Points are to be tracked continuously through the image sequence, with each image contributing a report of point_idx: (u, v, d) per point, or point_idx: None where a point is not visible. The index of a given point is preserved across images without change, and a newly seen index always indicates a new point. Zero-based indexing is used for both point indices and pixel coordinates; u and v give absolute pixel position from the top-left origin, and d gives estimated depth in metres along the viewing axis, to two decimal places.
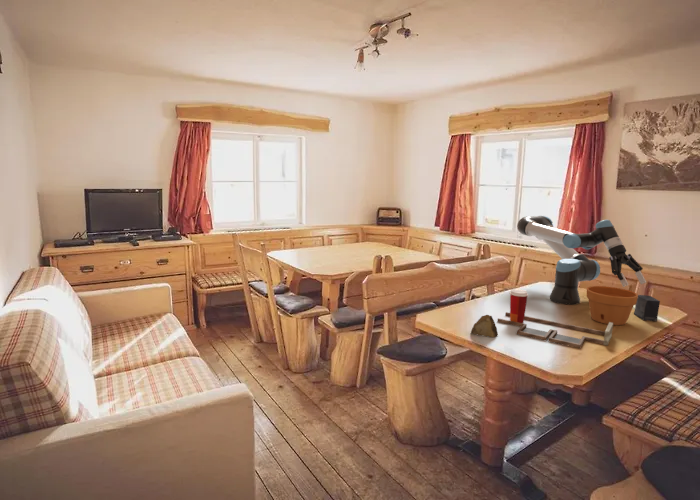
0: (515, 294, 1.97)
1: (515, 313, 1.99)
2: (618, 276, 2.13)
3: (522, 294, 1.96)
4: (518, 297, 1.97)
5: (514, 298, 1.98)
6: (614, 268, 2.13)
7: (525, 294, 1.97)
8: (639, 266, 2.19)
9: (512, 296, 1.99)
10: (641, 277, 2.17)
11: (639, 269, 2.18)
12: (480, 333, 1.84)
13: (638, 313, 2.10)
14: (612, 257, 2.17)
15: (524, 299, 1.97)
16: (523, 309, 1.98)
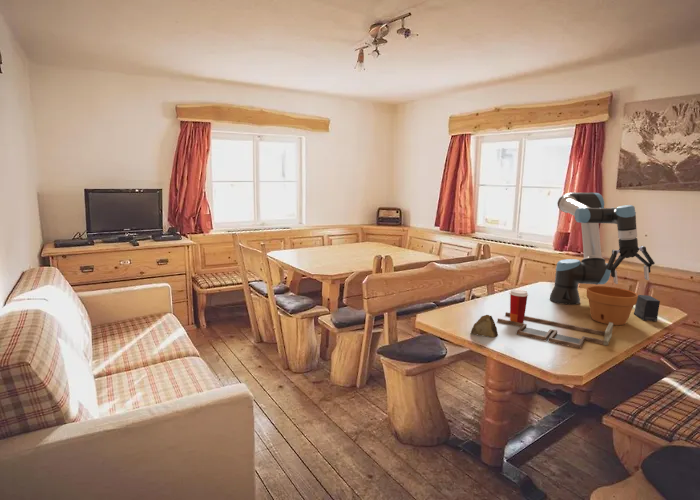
0: (515, 294, 1.97)
1: (515, 313, 1.99)
2: (611, 273, 2.04)
3: (522, 294, 1.96)
4: (518, 297, 1.97)
5: (514, 298, 1.98)
6: (608, 265, 2.02)
7: (525, 294, 1.97)
8: (650, 261, 1.98)
9: (512, 296, 1.99)
10: (646, 273, 2.00)
11: (648, 265, 1.99)
12: (480, 333, 1.84)
13: (638, 313, 2.10)
14: (613, 252, 2.01)
15: (524, 299, 1.97)
16: (523, 309, 1.98)
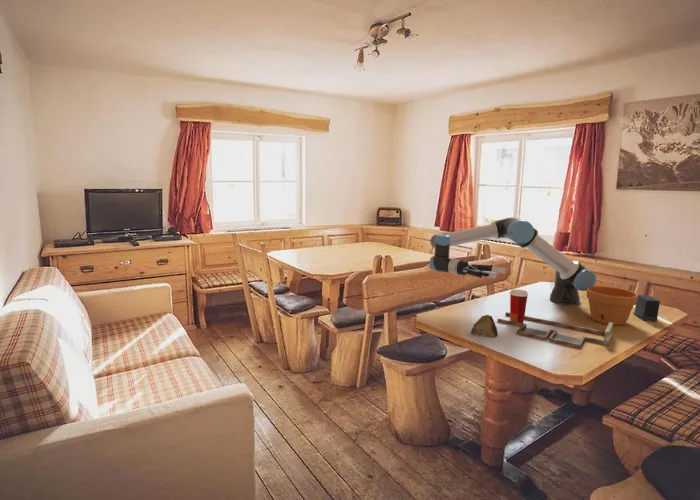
0: (515, 294, 1.97)
1: (515, 313, 1.99)
2: None
3: (522, 294, 1.96)
4: (518, 297, 1.97)
5: (514, 298, 1.98)
6: None
7: (525, 294, 1.97)
8: (476, 275, 2.03)
9: (512, 296, 1.99)
10: None
11: None
12: (480, 333, 1.84)
13: (638, 313, 2.10)
14: None
15: (524, 299, 1.97)
16: (523, 309, 1.98)
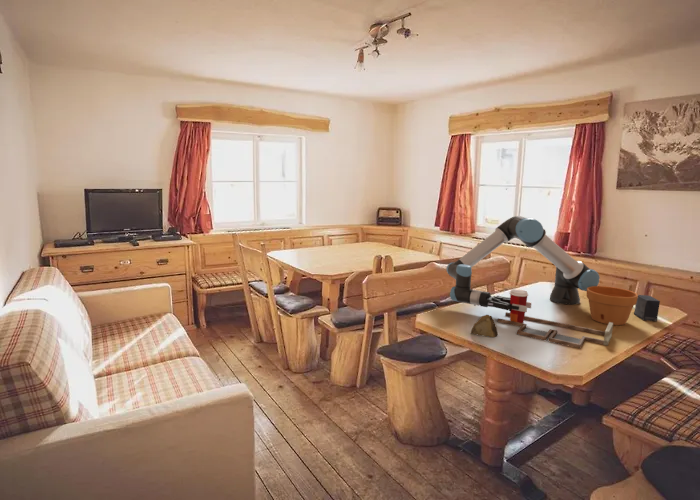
0: (515, 294, 1.97)
1: (515, 313, 1.99)
2: None
3: (522, 294, 1.96)
4: (518, 297, 1.97)
5: (514, 298, 1.98)
6: None
7: (525, 294, 1.97)
8: None
9: (512, 296, 1.99)
10: None
11: None
12: (480, 333, 1.84)
13: (638, 313, 2.10)
14: None
15: (524, 299, 1.97)
16: None
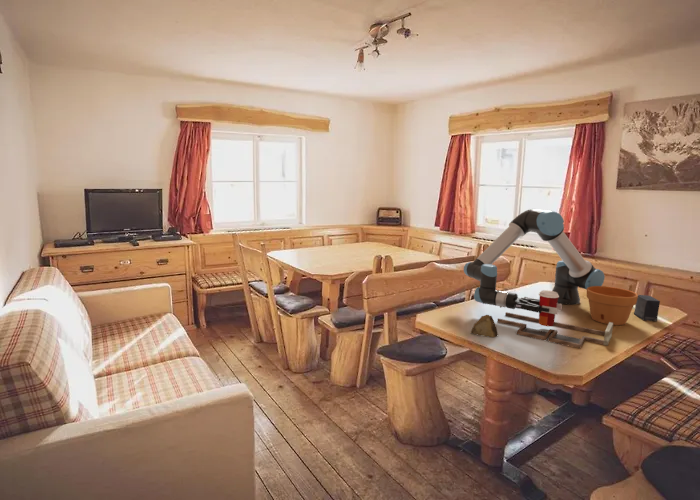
0: (545, 295, 1.87)
1: (545, 315, 1.89)
2: None
3: (553, 295, 1.86)
4: (548, 299, 1.86)
5: (544, 300, 1.88)
6: None
7: (556, 295, 1.86)
8: None
9: (542, 297, 1.89)
10: None
11: None
12: (480, 333, 1.84)
13: (638, 313, 2.10)
14: None
15: (555, 301, 1.87)
16: None
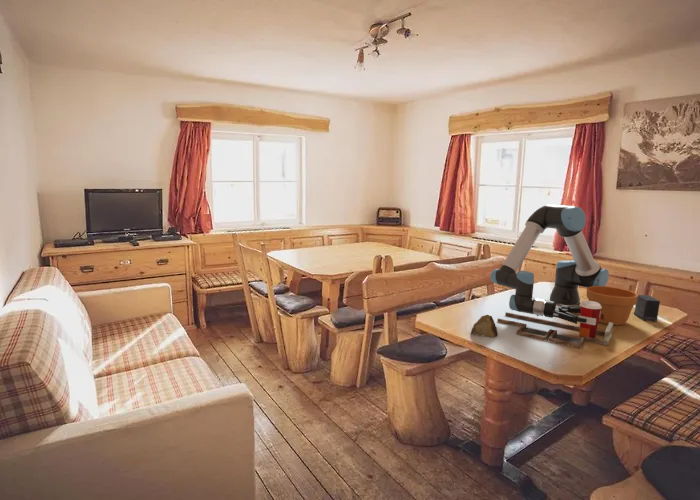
0: (588, 306, 1.79)
1: (587, 327, 1.81)
2: None
3: (596, 306, 1.78)
4: (591, 310, 1.79)
5: (586, 311, 1.80)
6: None
7: (599, 306, 1.79)
8: None
9: (584, 308, 1.81)
10: None
11: None
12: (480, 333, 1.84)
13: (638, 313, 2.10)
14: None
15: (598, 312, 1.79)
16: (596, 323, 1.80)
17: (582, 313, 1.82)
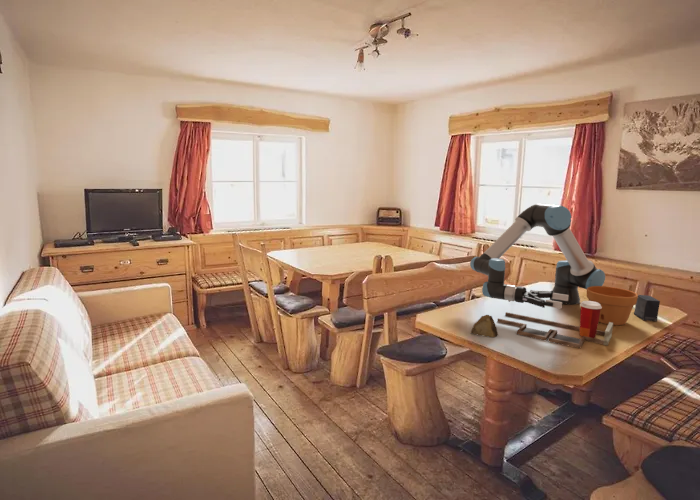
0: (588, 306, 1.79)
1: (587, 327, 1.81)
2: None
3: (596, 306, 1.78)
4: (591, 310, 1.79)
5: (586, 311, 1.80)
6: None
7: (599, 306, 1.79)
8: None
9: (584, 308, 1.81)
10: None
11: None
12: (480, 333, 1.84)
13: (638, 313, 2.10)
14: None
15: (598, 312, 1.79)
16: (596, 323, 1.80)
17: (582, 313, 1.82)
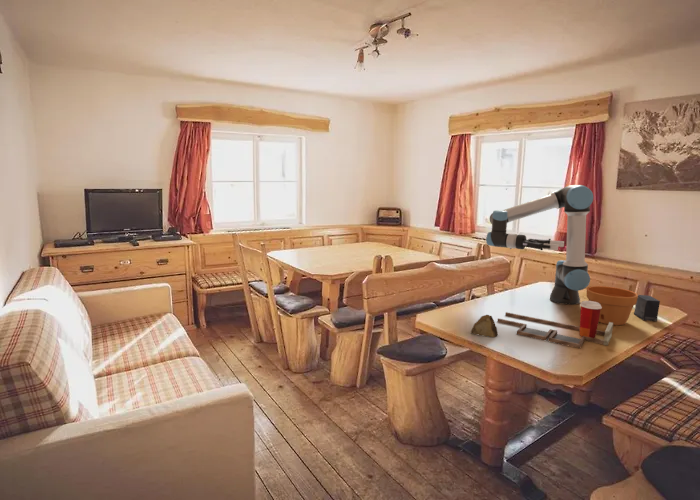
0: (588, 306, 1.79)
1: (587, 327, 1.81)
2: None
3: (596, 306, 1.78)
4: (591, 310, 1.79)
5: (586, 311, 1.80)
6: None
7: (599, 306, 1.79)
8: None
9: (584, 308, 1.81)
10: None
11: None
12: (480, 333, 1.84)
13: (638, 313, 2.10)
14: None
15: (598, 312, 1.79)
16: (596, 323, 1.80)
17: (582, 313, 1.82)
